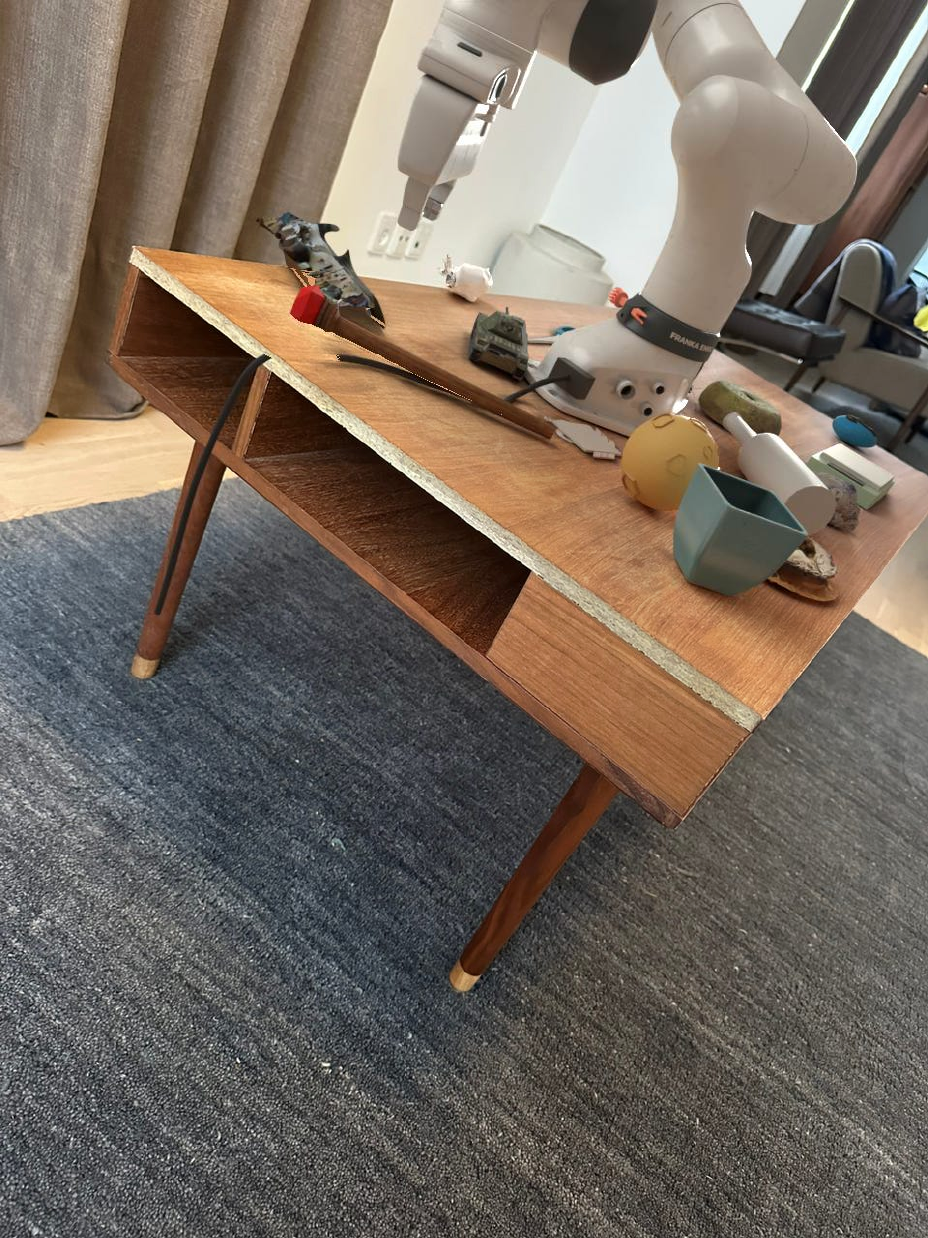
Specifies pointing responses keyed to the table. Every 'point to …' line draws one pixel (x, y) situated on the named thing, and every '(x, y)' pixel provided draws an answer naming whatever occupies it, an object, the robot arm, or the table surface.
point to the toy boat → (321, 262)
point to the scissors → (553, 339)
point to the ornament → (854, 431)
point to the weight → (740, 406)
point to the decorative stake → (407, 359)
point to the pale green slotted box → (854, 473)
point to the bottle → (782, 474)
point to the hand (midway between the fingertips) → (417, 222)
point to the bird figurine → (466, 279)
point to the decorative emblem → (586, 438)
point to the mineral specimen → (842, 501)
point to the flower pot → (732, 532)
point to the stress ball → (666, 459)
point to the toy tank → (500, 342)
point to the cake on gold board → (809, 572)
